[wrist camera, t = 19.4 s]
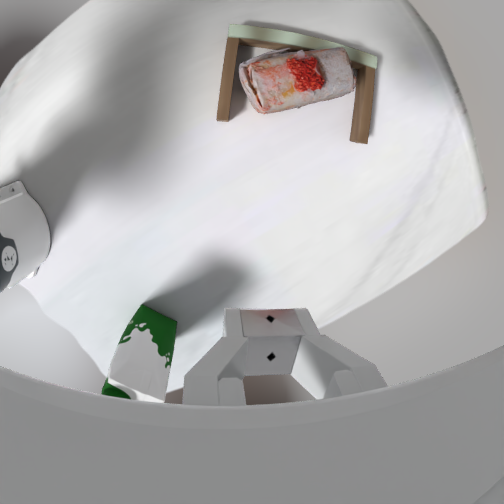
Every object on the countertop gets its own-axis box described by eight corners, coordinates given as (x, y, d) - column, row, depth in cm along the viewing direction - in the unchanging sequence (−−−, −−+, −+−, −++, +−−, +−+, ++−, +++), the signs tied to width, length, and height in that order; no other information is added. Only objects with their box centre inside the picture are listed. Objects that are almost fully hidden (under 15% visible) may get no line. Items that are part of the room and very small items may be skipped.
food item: (253, 122, 35) (261, 117, 26) (233, 72, 32) (236, 52, 23) (340, 99, 34) (372, 91, 25) (322, 51, 31) (349, 31, 22)
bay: (217, 120, 35) (216, 119, 31) (229, 32, 29) (229, 23, 26) (358, 143, 37) (368, 144, 34) (366, 61, 32) (377, 56, 29)
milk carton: (138, 297, 44) (102, 385, 26) (184, 320, 47) (169, 414, 29) (124, 329, 47) (92, 413, 29) (166, 350, 50) (149, 436, 31)
